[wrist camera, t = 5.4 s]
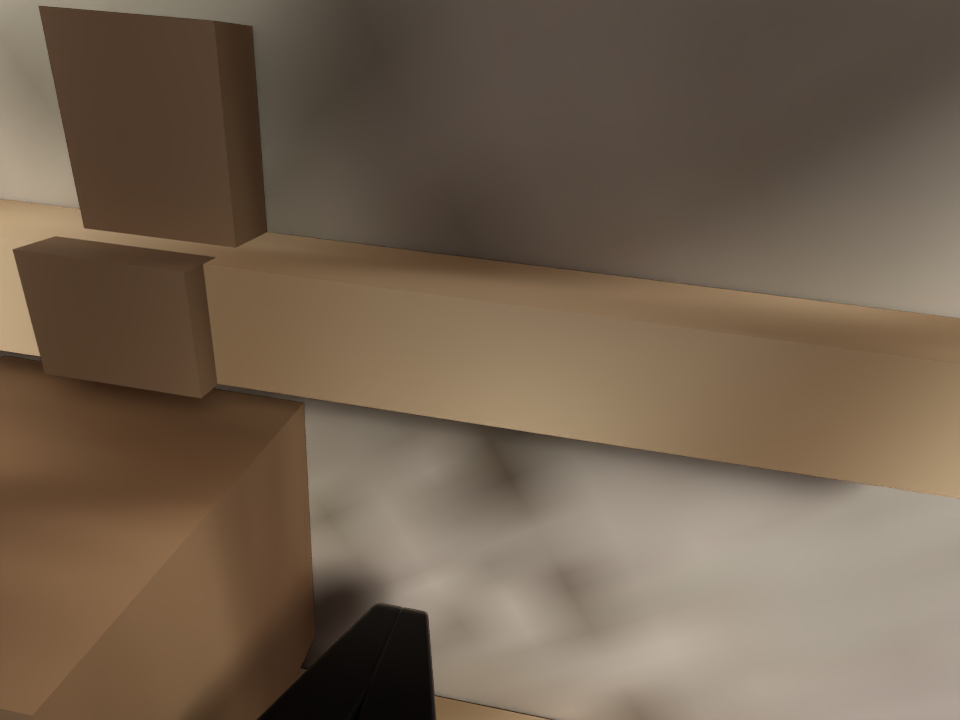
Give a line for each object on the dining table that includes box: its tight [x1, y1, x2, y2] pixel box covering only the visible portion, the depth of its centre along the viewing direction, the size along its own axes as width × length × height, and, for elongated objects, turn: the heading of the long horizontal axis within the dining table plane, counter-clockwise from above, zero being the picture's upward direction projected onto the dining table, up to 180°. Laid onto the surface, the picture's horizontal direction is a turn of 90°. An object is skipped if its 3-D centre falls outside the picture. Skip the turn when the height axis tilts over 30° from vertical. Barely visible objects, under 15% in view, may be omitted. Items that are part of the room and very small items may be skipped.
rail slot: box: [0, 6, 960, 720], centre depth 8 cm, size 18×15×4 cm
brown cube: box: [0, 356, 316, 720], centre depth 8 cm, size 5×5×5 cm
